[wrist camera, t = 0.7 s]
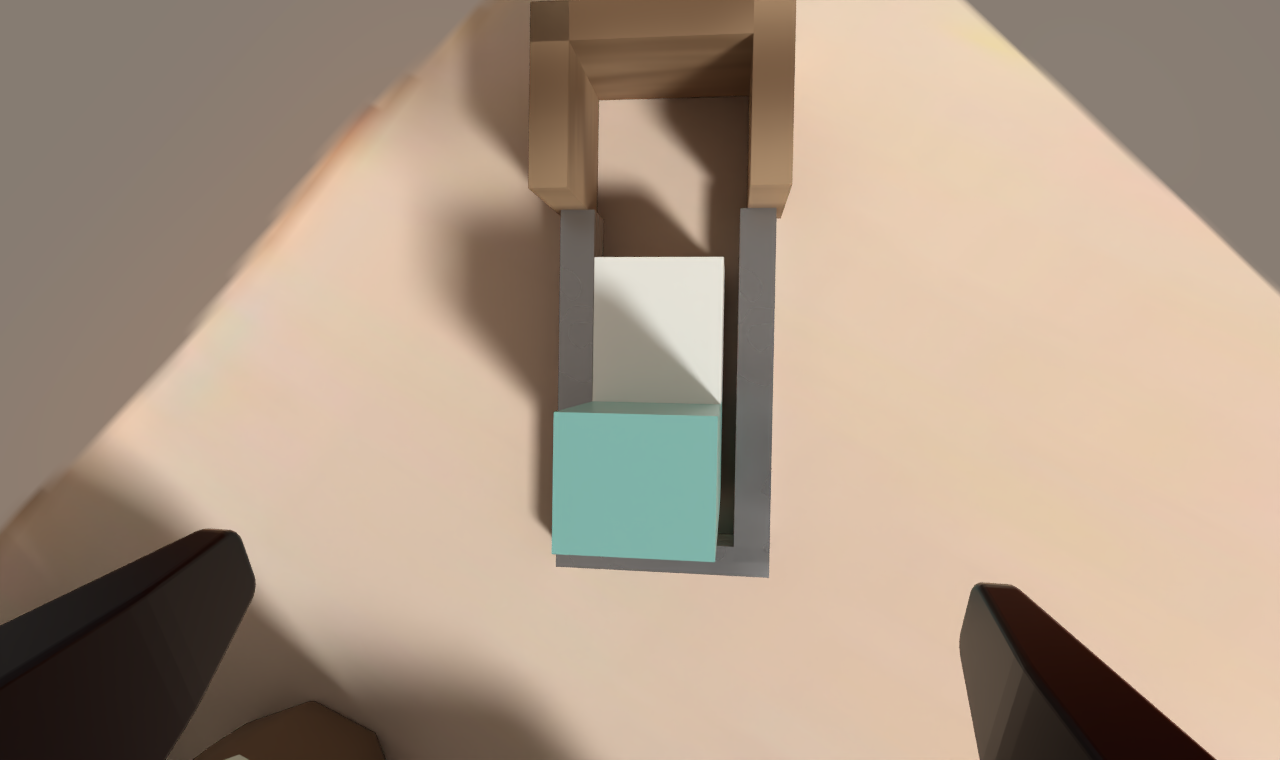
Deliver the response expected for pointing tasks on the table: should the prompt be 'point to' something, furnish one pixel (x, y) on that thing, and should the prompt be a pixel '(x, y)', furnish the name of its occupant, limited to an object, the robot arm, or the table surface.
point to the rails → (753, 392)
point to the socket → (656, 82)
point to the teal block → (646, 416)
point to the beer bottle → (298, 738)
